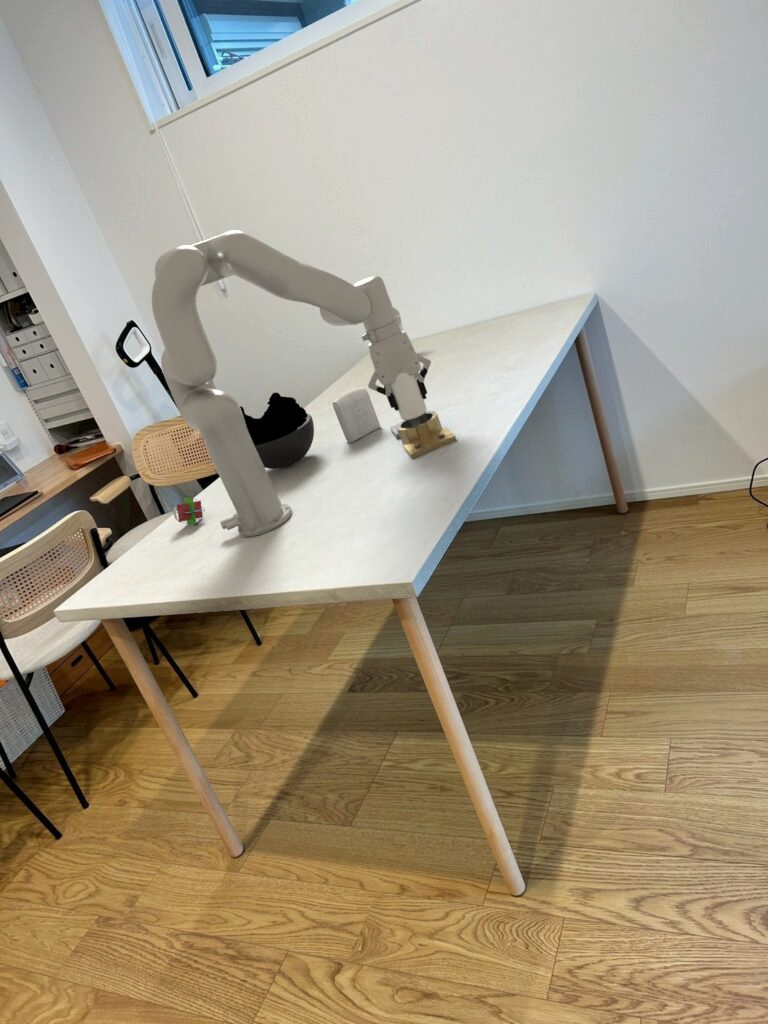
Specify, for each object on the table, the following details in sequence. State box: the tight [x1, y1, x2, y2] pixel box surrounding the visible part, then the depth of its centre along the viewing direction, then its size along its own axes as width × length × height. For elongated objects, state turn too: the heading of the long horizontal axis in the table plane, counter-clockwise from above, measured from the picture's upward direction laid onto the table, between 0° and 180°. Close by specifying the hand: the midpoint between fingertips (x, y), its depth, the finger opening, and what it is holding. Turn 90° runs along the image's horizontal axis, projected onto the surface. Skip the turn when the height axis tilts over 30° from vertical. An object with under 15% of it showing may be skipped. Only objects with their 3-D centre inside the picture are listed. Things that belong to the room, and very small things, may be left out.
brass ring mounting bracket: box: [389, 410, 458, 460], centre depth 189 cm, size 11×26×4 cm, turn 11°
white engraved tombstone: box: [332, 386, 381, 443], centre depth 205 cm, size 10×4×12 cm, turn 123°
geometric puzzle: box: [172, 497, 206, 526], centre depth 191 cm, size 7×7×8 cm
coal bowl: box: [239, 392, 315, 470], centre depth 203 cm, size 20×20×19 cm
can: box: [391, 370, 428, 421], centre depth 185 cm, size 6×6×12 cm
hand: (410, 403), depth 186 cm, fingers closed on can, 6 cm apart
